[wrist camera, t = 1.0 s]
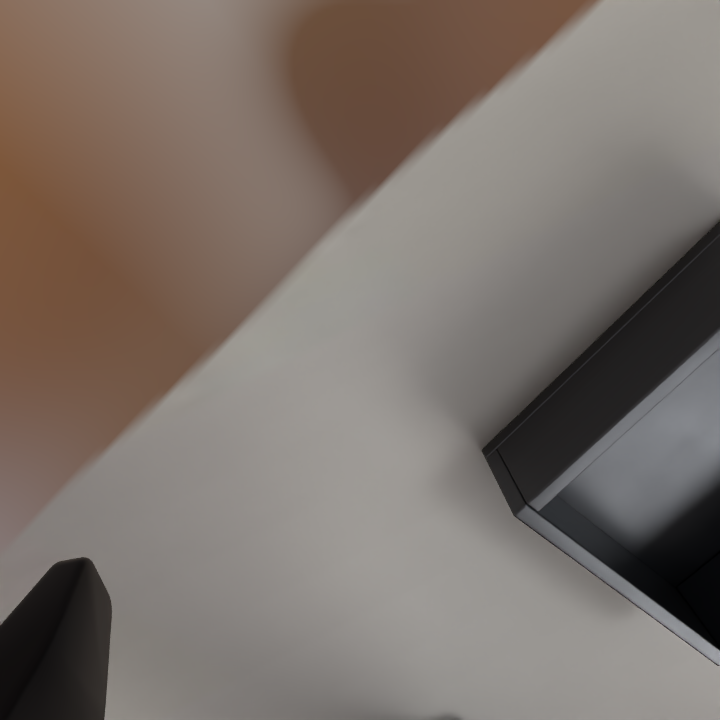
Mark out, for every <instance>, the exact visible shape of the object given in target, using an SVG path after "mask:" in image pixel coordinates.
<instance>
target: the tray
mask: <svg viewBox="0 0 720 720" xmlns="http://www.w3.org/2000/svg"><path fill="white" fill-rule="evenodd" d="M482 452H483V454H484V456H485V458H486V460H487V462H488V464H489V466H490V468H491V470H492V472H493V474H494V476H495V478H496V480H497V483H498V485H499V487H500V489H501V491H502V493H503V495H504V497H505V499H506V501H507V503H508V505H509V507H510V509H511V511H512V513H513V515H514V516H515V517H516V518H518V519H519V520H520V521H522V522H523V523H524V524H526V525H527V526H529V527H530V528H531V529H533V530H534V531H535V532H537V533H538V534H539V535H541V536H542V537H543V538H545V539H546V540H548V541H549V542H550V543H552V544H553V545H554V546H556V547H557V548H558V549H560V550H561V551H563V552H564V553H565V554H567V555H568V556H569V557H571V558H572V559H573V560H575V561H576V562H577V563H579V564H580V565H582V566H583V567H584V568H586V569H587V570H588V571H590V572H591V573H592V574H594V575H595V576H596V577H598V578H599V579H601V580H602V581H603V582H605V583H606V584H607V585H609V586H610V587H611V588H613V589H614V590H616V591H617V592H618V593H620V594H621V595H622V596H624V597H625V598H626V599H628V600H629V601H630V602H632V603H633V604H635V605H636V606H637V607H639V608H640V609H641V610H643V611H644V612H645V613H647V614H648V615H650V616H651V617H652V618H654V619H655V620H656V621H658V622H659V623H660V624H662V625H663V626H664V627H666V628H667V629H669V630H670V631H671V632H673V633H674V634H675V635H677V636H678V637H679V638H681V639H682V640H683V641H685V642H686V643H688V644H689V645H690V646H692V647H693V648H694V649H696V650H697V651H698V652H700V653H701V654H703V655H704V656H705V657H707V658H708V659H709V660H711V661H712V662H713V663H715V664H716V665H718V666H720V222H719V223H718V224H717V225H716V226H715V227H714V228H713V229H712V230H711V231H710V232H709V233H708V234H706V235H705V236H704V237H703V238H702V239H701V240H700V241H699V242H698V243H697V244H696V245H695V246H694V247H693V248H692V249H691V250H690V251H689V252H688V253H687V254H686V255H685V256H684V257H683V258H682V259H680V260H679V261H678V262H677V263H676V264H675V265H674V266H673V267H672V268H671V269H670V270H669V271H668V272H667V273H666V274H665V275H664V276H663V277H662V278H661V279H660V280H659V281H658V282H657V283H656V284H654V285H653V286H652V287H651V288H650V289H649V290H648V291H647V292H646V293H645V294H644V295H643V296H642V297H641V298H640V299H639V300H638V301H637V302H636V303H635V304H634V305H633V306H632V307H631V308H629V309H628V310H627V311H626V312H625V313H624V314H623V315H622V316H621V317H620V318H619V319H618V320H617V321H616V322H615V323H614V324H613V325H612V326H611V327H610V328H609V329H608V330H607V331H606V332H605V333H603V334H602V335H601V336H600V337H599V338H598V339H597V340H596V341H595V342H594V343H593V344H592V345H591V346H590V347H589V348H588V349H587V350H586V351H585V352H584V353H583V354H582V355H581V356H580V357H579V358H577V359H576V360H575V361H574V362H573V363H572V364H571V365H570V366H569V367H568V368H567V369H566V370H565V371H564V372H563V373H562V374H561V375H560V376H559V377H558V378H557V379H556V380H555V381H554V382H552V383H551V384H550V385H549V386H548V387H547V388H546V389H545V390H544V391H543V392H542V393H541V394H540V395H539V396H538V397H537V398H536V399H535V400H534V401H533V402H532V403H531V404H530V405H529V406H528V407H526V408H525V409H524V410H523V411H522V412H521V413H520V414H519V415H518V416H517V417H516V418H515V419H514V420H513V421H512V422H511V423H510V424H509V425H508V426H507V427H506V428H505V429H504V430H503V431H502V432H500V433H499V434H498V435H497V436H496V437H495V438H494V439H493V440H492V441H491V442H490V443H489V444H488V445H487V446H486V447H485V448H484V449H483V450H482Z"/></svg>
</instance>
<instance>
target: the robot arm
mask: <svg viewBox="0 0 720 720" xmlns="http://www.w3.org/2000/svg"><path fill="white" fill-rule="evenodd" d="M111 619H112V605H111V600H110V596H109V594H108V592H107V590H106V588H105V586H104V584H103V582H102V580H101V578H100V576H99V574H98V572H97V570H96V568H95V566H94V564H93V562H92V561H91V560H90V559H89V558H86V557H81V558H76V559H70V560H64V561H60V562H57V563H56V564H54V565H53V566H52V567H51V568H50V569H49V570H48V571H47V573H46V574H45V575H44V576H43V577H42V578H41V579H40V581H39V582H38V583H37V584H36V585H35V586H34V587H33V589H32V590H31V591H30V592H29V593H28V594H27V595H26V597H25V598H24V599H23V600H22V601H21V602H20V604H19V605H18V606H17V607H16V608H15V609H14V610H13V612H12V613H11V614H10V615H9V616H8V617H7V618H6V620H5V621H4V622H3V623H2V624H1V625H0V720H104V717H105V706H106V691H107V677H108V662H109V648H110V634H111Z"/></svg>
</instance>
